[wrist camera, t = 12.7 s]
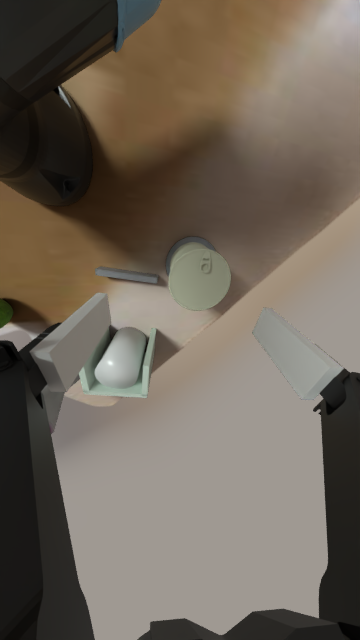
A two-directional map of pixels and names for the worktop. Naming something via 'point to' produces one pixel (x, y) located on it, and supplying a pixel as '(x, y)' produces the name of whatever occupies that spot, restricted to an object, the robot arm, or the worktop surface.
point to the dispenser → (120, 354)
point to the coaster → (182, 242)
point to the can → (198, 277)
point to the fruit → (5, 313)
